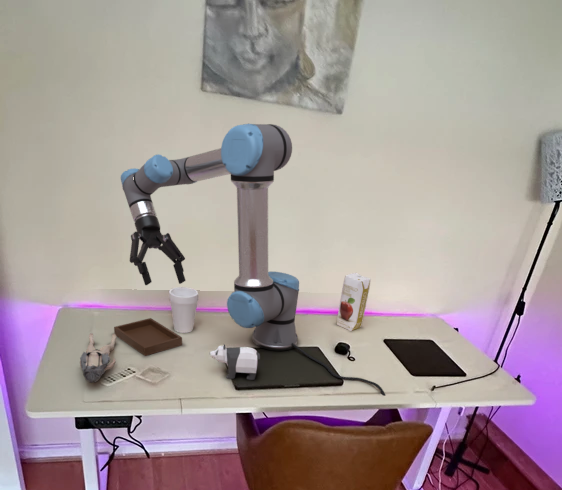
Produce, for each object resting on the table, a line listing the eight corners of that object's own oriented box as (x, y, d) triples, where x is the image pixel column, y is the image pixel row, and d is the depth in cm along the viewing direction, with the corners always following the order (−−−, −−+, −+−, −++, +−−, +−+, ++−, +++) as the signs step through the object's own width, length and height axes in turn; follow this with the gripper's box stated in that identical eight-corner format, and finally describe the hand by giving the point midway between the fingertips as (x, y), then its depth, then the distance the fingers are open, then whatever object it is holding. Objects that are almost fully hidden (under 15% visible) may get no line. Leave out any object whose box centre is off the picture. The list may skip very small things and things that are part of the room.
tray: (182, 345, 165) (182, 337, 164) (145, 356, 157) (144, 347, 155) (150, 325, 175) (150, 317, 174) (114, 334, 166) (113, 326, 165)
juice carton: (345, 319, 198) (354, 271, 188) (363, 328, 193) (374, 278, 183) (333, 324, 193) (342, 274, 183) (351, 332, 188) (361, 282, 178)
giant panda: (258, 371, 156) (261, 343, 151) (258, 381, 152) (261, 351, 146) (209, 368, 155) (210, 339, 149) (208, 377, 150) (209, 348, 145)
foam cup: (191, 336, 171) (192, 299, 164) (165, 331, 172) (164, 294, 165) (201, 325, 179) (202, 289, 172) (175, 321, 180) (175, 285, 173)
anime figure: (118, 328, 160) (109, 363, 134) (119, 350, 163) (111, 389, 137) (85, 327, 158) (70, 362, 132) (87, 350, 161) (72, 389, 135)
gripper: (169, 226, 178) (188, 285, 178) (105, 222, 159) (126, 288, 159) (182, 216, 173) (202, 277, 173) (117, 211, 154) (139, 279, 154)
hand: (166, 283), depth 166 cm, fingers open, 13 cm apart
